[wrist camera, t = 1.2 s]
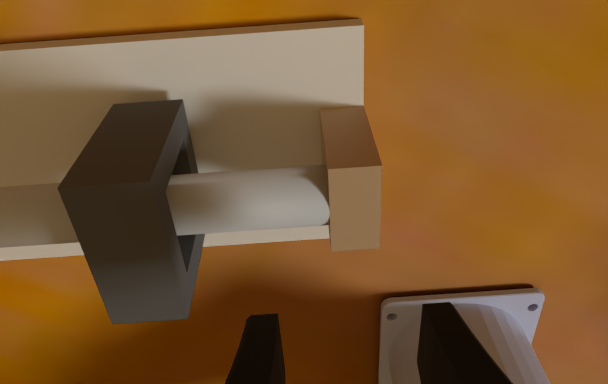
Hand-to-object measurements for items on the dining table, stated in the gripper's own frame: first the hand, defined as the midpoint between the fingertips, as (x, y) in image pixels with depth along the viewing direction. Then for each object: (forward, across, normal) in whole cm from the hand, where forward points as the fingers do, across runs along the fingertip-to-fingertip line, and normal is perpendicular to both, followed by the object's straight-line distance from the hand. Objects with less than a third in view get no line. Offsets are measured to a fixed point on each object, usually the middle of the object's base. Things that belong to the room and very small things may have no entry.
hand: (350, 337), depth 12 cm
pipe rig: (+10, +10, 0) cm, 14 cm away
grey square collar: (+9, +6, 0) cm, 10 cm away
